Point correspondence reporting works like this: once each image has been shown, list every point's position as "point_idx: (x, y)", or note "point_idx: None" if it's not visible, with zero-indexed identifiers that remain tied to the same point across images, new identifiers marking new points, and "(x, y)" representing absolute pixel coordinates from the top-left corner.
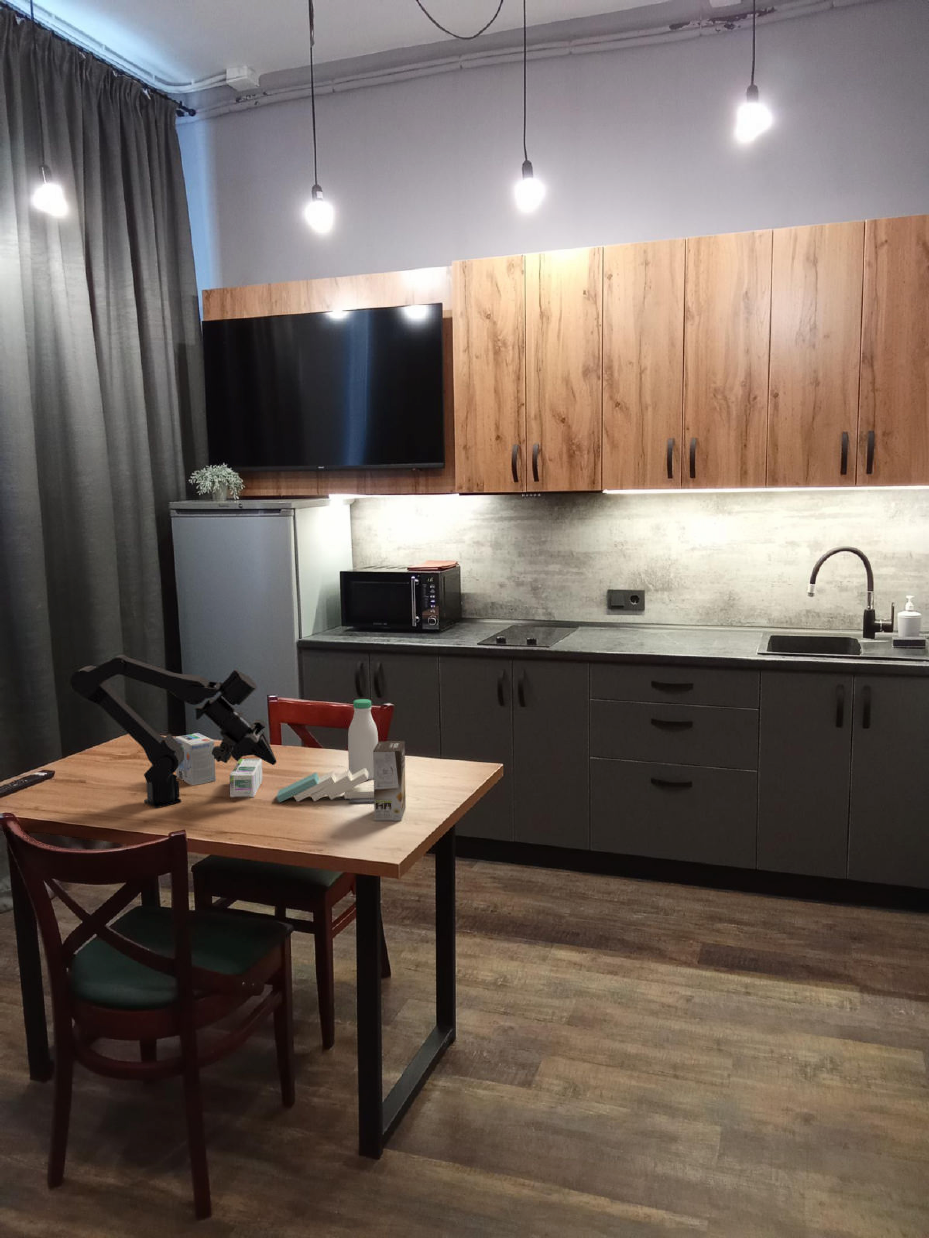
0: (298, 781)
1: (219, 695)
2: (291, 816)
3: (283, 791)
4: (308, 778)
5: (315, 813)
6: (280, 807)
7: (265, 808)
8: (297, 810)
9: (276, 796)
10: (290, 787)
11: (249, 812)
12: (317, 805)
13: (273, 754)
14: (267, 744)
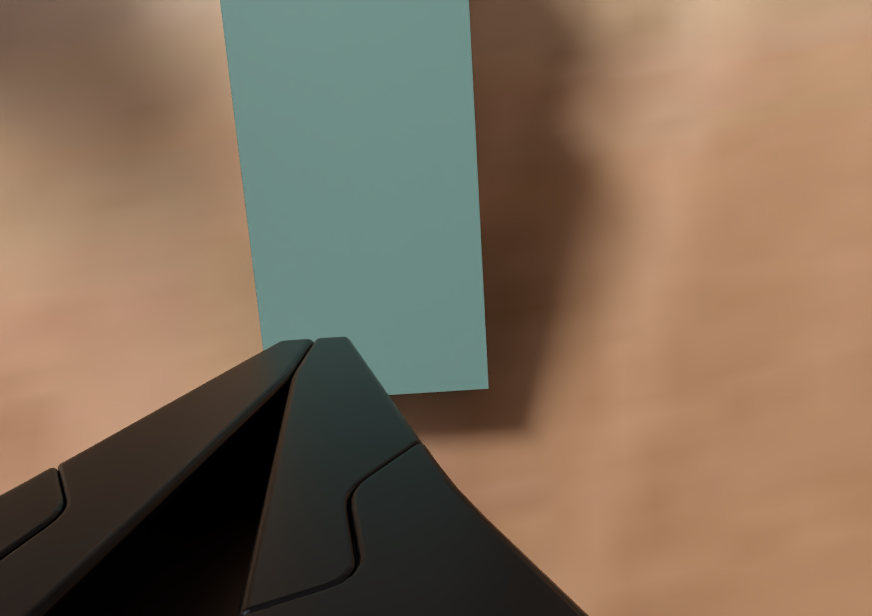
0: (271, 163)
1: None
2: (861, 188)
3: (412, 321)
4: (339, 14)
5: (767, 15)
6: (624, 329)
7: (658, 466)
8: (700, 167)
9: (483, 387)
10: (378, 244)
11: (787, 603)
12: (562, 30)
13: (229, 386)
14: (108, 576)
